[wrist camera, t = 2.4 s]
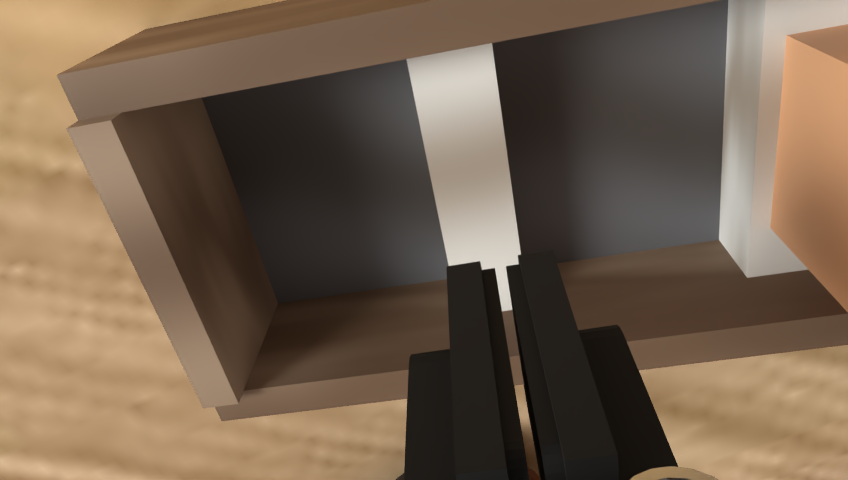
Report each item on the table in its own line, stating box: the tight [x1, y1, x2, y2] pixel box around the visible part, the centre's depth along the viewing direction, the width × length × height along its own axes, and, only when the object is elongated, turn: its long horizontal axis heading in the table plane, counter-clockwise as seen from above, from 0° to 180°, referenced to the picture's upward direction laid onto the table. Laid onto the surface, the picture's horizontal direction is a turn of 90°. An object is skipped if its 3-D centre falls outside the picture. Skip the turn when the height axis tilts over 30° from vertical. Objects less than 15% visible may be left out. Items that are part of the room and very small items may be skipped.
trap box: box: [57, 0, 848, 421], centre depth 16 cm, size 10×30×5 cm, turn 101°
